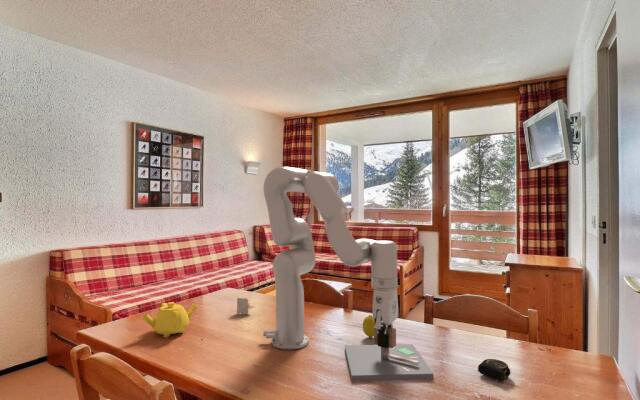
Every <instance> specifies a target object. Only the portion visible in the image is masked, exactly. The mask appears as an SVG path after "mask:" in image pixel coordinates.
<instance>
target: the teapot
mask: <svg viewBox="0 0 640 400" xmlns="http://www.w3.org/2000/svg"><path fill="white" fill-rule="evenodd" d="M197 309H198V305H195V304H192V305H191V307H190V308H189V309H188V311H186V310H185V308H184V306H183V305H182V304H178V303H177V304H176V303H175V302H174V301H171V302H169V301H168V303H167V302H162V303H161V307H160V308H159V309H158V311H157V312H156V313H155V316H154V317H153V318H152V317H151V316H150V314H148V313H145V314H143V316H142V317H141V319H143V321H145V322H146V323H147V324H148V325H149V326H151V328H152V330H153V331H154V332H155V333H157V334H158V335H163V336H162V338H163V337H167V338H169V337H170V336H171V334H172V335H174V334H178V333H179V334H178V335H181V334H180V333H183V334H185V330H186V329H187V327H189V324H190V318H191V317H192V315H193V314H194V313H195V311H196V310H197Z"/></svg>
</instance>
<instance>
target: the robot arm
mask: <svg viewBox="0 0 640 400" xmlns="http://www.w3.org/2000/svg"><path fill="white" fill-rule="evenodd" d="M339 189H340V184H339V180H338V179H337V177H336V176H335V175H334V174H332V173H329V172H323V171H322V172H321V171H320V172H319V171H315V170H310V169H304V168H298V167H292V166H291V167H290V166H277V167H275V168H273V169H272V170H270V171H269V173H268V174H267V175H266V177H265V178H264V182H263V196H264V199H265V203H266V207H267V213H268V219H269V226H270V231H271V236H272V240H273V242H274V243H275V244H276V246H278V247H279V246H280V247H289V246H290V249H286V250H283V251H281V252H278V254H276V255H275V257H274V258H273V263H272V271H273V276H274V283H275V306H276V307H275V308H276V309H275V312H276V313H275V316H276V317H275V318H276V319H275V321H276V322H275V324H276V325H275V326H276V327H275V328H274V329H272V330H267V329H266V330H263V333H262V334H263V337H265V339H271V345H272V346H273V347H274V348H276V349H280V350H286V351H288V350H289V351H291V350H298V349H302V348H304V347H306V346H307V345H308V344H309V342H310V337H309V336H308V335H306V334H305V294H304V293H305V292H304V291H305V290H304V285H303V282H302V279H301V276H302V275H305V274H308V273H309V272H311V271H312V270H313V269H314V267H315V265H316V252H315V247H314V241H313V235H312V231H311V228H310V226H309V224H308V222H307V221H306V220H305V219H303V218H300V217H295V216H294V211H293V205H292V201H291V200H290V198H289V196H288V195H287V194H288V193H304V194H306V195H307V196H308V198H309V200H310V201H311V202H312V204H313V205H314V207H315V209H316V211H317V212H318V214H319V215H320V217H321V218H322V219H323V222H324V228H325V233H326V238H327V240H328V242H329V244H330V246H331V248H332V249H333V251H334V252H335V254H336V256H337V257H338V259H339V260H340V261H341V262H342V263H343V265H346V266H348V267H351V268H355V267H359V266H360V265H361V266H362V265H363V264H367V263H371V265H370V266H371V271H370V272H371V288H372V289H373V294H372V316H373V322H374V323H376V326H375V329H377V333H378V346H379V347H384V348H388V347H389V334H387V330H388V327H391V328H394V325H393V324H394V322H395V321H396V320H397V318H398V317H399V302H398V301H399V299H398V291H397V289H398V247H397V243H396V242H395V241H392V240H383V239H382V240H374V239H370V238H358V239H355V237H354V236H353V235H352V233H351V231H350V229H349V228H348V226H347V223H346V214H347V211H348V208H347V205H346V203H345V202H344V201H343V199H342V198H341V196H340V194H339V193H338V192H339ZM383 326H385V327H383Z"/></svg>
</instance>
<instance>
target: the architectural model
mask: <svg viewBox="0 0 640 400" xmlns="http://www.w3.org/2000/svg"><path fill="white" fill-rule="evenodd" d="M236 302H237V303H236V305H237V306H236V309H237V310H236V314H237V313H241V314H247V315H246V316H249V309H250V310H251V309H253V308H255V305H251V304H250V303H249V299H248V298H246V297H236ZM241 314H240V315H241Z"/></svg>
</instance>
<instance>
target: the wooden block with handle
mask: <svg viewBox="0 0 640 400" xmlns="http://www.w3.org/2000/svg"><path fill="white" fill-rule="evenodd" d="M382 326H383V325H382ZM383 327H385V326H383ZM387 334H389V347H388V348H384V347H381V358H383V359H389V358H391V359H395V360H399V361H403V362H406V363H410V364H414V365H418V364H419V361H416V360H412V359H408V358H404V357H400V356H396V355H392V354H389V348H394V347H395V346H396V344H397V329H396V328H395V327H393V328H391V327H388V330H387ZM373 345H378V333H377V329H375V327H374V336H373Z"/></svg>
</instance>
